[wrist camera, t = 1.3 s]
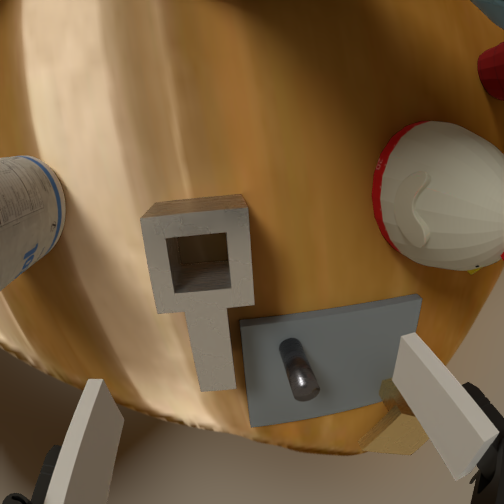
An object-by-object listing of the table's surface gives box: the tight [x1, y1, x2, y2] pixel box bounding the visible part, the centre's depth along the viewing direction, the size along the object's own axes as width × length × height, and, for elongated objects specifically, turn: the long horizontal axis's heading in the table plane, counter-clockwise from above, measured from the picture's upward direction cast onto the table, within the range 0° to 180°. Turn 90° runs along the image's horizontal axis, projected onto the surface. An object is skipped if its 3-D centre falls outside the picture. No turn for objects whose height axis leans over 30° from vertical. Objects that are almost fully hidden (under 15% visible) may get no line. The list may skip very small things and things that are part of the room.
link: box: [140, 194, 255, 392], centre depth 25 cm, size 15×7×6 cm, turn 4°
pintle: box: [279, 338, 320, 402], centre depth 26 cm, size 2×2×6 cm
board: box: [240, 294, 422, 427], centre depth 32 cm, size 14×19×1 cm
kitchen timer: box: [372, 121, 504, 274], centre depth 20 cm, size 14×14×15 cm
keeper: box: [358, 378, 429, 455], centre depth 28 cm, size 5×9×9 cm, turn 59°
